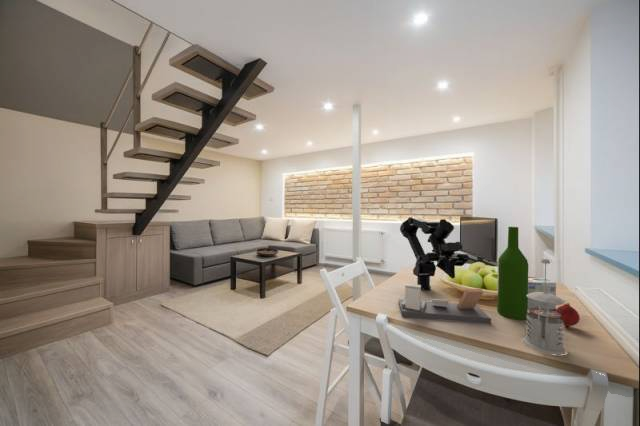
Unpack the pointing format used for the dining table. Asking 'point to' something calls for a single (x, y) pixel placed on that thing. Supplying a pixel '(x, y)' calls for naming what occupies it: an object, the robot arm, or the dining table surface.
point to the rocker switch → (440, 302)
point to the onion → (568, 315)
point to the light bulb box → (539, 286)
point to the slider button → (413, 296)
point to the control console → (445, 312)
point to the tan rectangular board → (470, 298)
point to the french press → (544, 323)
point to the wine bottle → (512, 280)
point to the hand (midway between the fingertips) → (453, 278)
